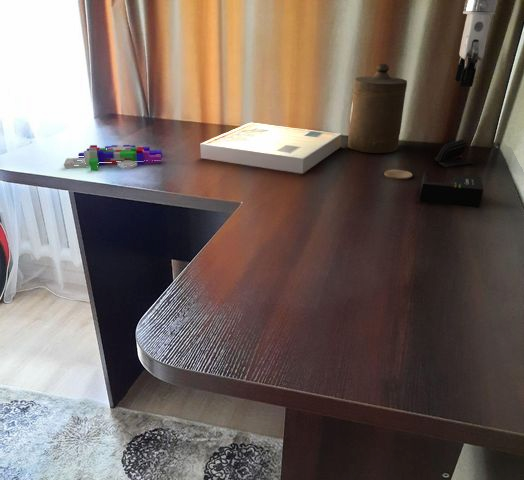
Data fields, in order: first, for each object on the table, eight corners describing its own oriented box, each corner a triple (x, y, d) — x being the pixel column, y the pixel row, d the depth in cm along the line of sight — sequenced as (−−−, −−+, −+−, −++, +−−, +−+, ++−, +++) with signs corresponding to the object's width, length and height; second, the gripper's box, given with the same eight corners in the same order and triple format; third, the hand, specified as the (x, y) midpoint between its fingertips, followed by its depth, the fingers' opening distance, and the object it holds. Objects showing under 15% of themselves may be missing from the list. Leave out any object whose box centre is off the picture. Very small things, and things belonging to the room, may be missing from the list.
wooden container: (373, 138, 161) (383, 59, 148) (407, 149, 151) (422, 65, 138) (337, 144, 154) (345, 62, 142) (371, 156, 144) (382, 68, 131)
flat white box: (250, 122, 161) (341, 133, 150) (250, 135, 163) (340, 147, 152) (200, 143, 138) (303, 158, 128) (200, 158, 140) (302, 173, 130)
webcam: (457, 158, 144) (462, 137, 140) (472, 164, 139) (478, 142, 136) (431, 161, 141) (436, 140, 137) (446, 167, 136) (451, 145, 133)
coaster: (411, 172, 132) (411, 170, 132) (412, 180, 127) (413, 178, 127) (384, 170, 133) (384, 168, 133) (384, 178, 128) (384, 176, 128)
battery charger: (477, 194, 119) (481, 176, 116) (479, 207, 111) (484, 189, 109) (420, 188, 122) (423, 171, 119) (418, 201, 114) (422, 183, 112)
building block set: (161, 147, 149) (159, 131, 146) (162, 168, 132) (160, 150, 130) (73, 150, 145) (69, 134, 142) (63, 171, 129) (59, 153, 126)
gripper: (502, 8, 119) (482, 89, 129) (489, 6, 133) (472, 79, 143) (469, 7, 120) (452, 88, 130) (459, 5, 134) (445, 78, 144)
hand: (463, 83), depth 137 cm, fingers open, 9 cm apart
